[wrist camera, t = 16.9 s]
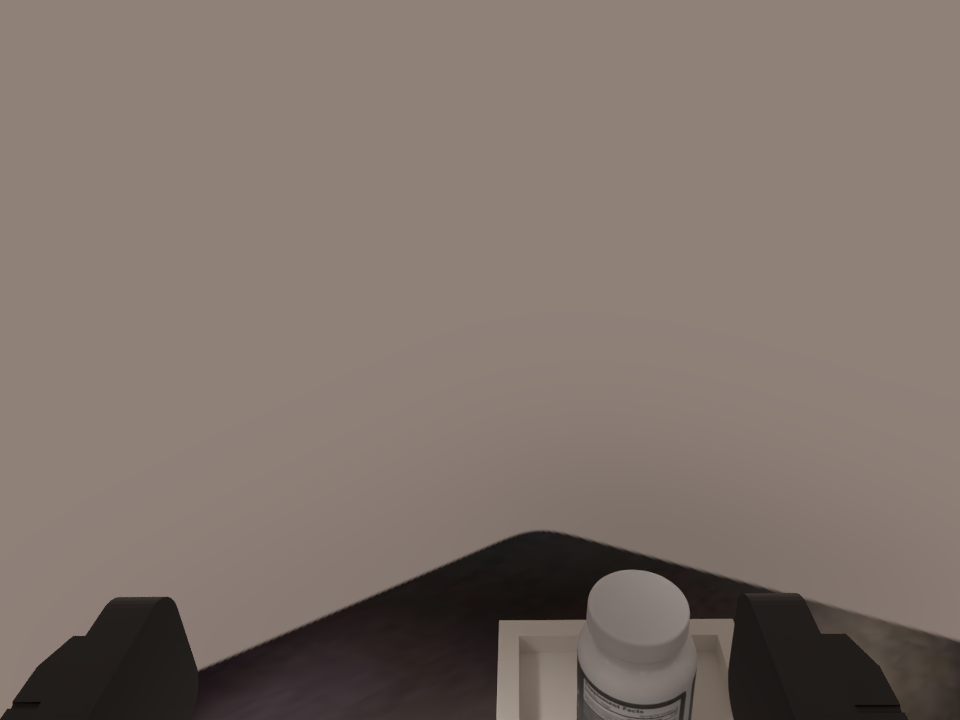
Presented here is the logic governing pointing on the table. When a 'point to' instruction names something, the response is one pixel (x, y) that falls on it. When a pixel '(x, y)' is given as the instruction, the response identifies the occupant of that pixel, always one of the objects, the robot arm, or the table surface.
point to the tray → (553, 669)
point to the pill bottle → (636, 651)
